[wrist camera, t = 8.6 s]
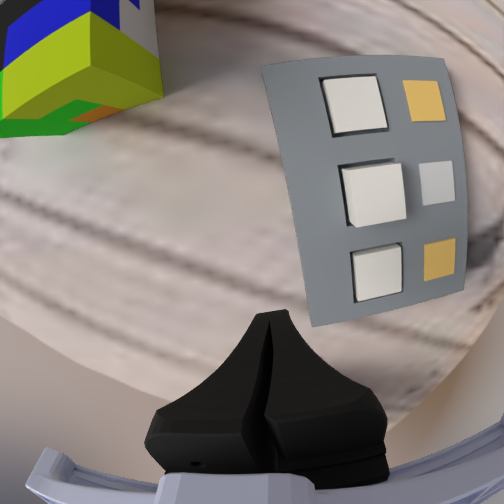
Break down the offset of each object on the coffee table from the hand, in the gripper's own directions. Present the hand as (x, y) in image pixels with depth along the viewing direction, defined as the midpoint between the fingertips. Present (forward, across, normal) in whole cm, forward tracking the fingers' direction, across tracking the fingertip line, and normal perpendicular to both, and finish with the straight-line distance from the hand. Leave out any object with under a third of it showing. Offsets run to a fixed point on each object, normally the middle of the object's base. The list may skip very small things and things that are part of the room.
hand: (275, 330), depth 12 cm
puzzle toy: (+11, +10, -18) cm, 24 cm away
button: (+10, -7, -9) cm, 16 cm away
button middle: (+9, -7, -3) cm, 12 cm away
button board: (+10, -9, -3) cm, 14 cm away
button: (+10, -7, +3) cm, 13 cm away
